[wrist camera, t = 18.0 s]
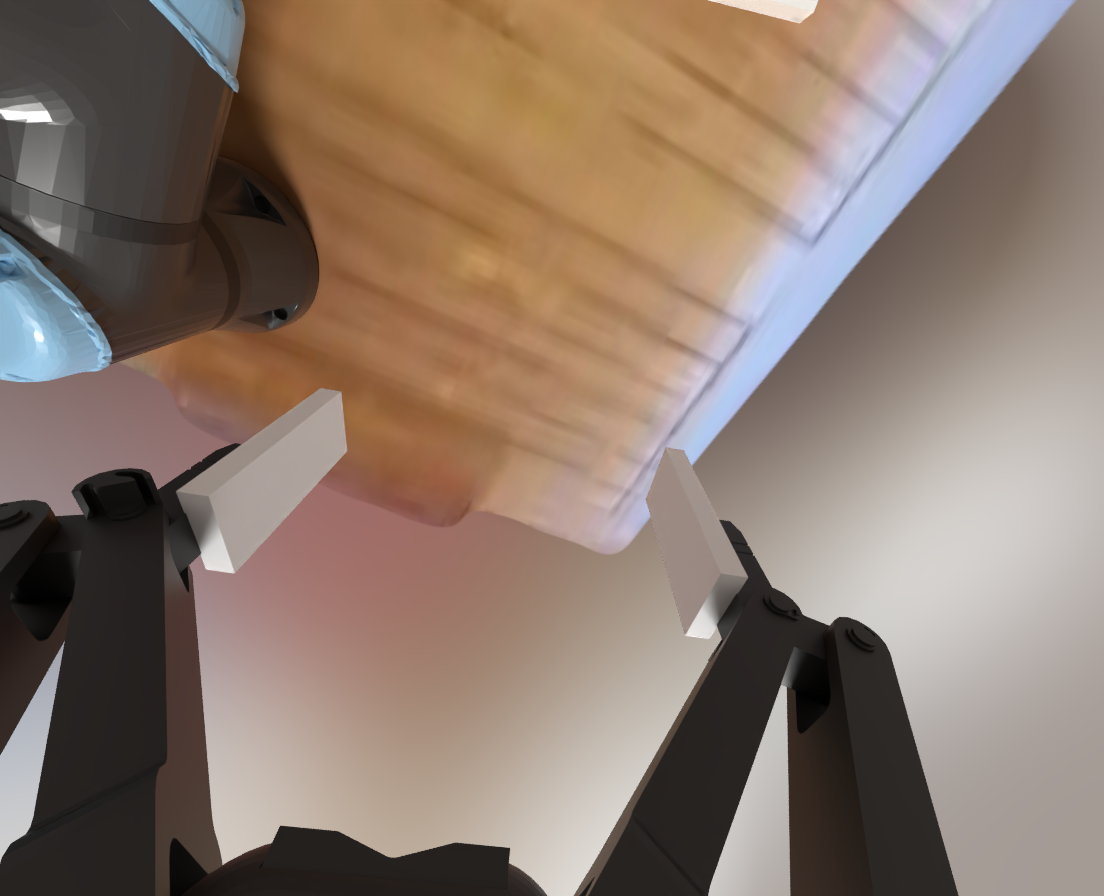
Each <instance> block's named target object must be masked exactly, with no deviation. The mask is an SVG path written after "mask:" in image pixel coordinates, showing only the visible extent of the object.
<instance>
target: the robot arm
mask: <svg viewBox="0 0 1104 896" xmlns="http://www.w3.org/2000/svg"><path fill="white" fill-rule="evenodd" d="M244 29H245V11H244V6H243V2H242V0H0V379H2V380H9V381H17V382H33V381H35V382H40V381H47V380H53V379H57V378H60V377H64V376H67V375H72V374H75V373H80V372H84V371H99V370H102V369H104V368H106V367H107V365H110V364H113V363H116V362H119V361H122V360H125V359H128V358H131V357H133V356H136V355H139V354H142V353H145V352H148V351H151V350H154V349H157V348H160V347H163V346H165V345H168V344H171V343H174V342H177V341H180V340H183V339H186V338H189V337H192V336H195V335H198V334H201V333H204V332H207V331H210V330H223V331H236V332H249V333H259V332H267V331H272V330H275V329H278V328H281V327H283V326H286V325H288V324H291V323H293V322H295V321H296V320H298V319H299V318H301V317H302V316H303V315H304V314H305V313H306V312H307V310H308V309H309V308H310V306H311V304H312V303H313V300H314V298H315V295H316V292H317V287H318V278H319V272H318V262H317V256H316V252H315V248H314V245H313V242H312V239H311V237H310V235H309V232H308V230H307V228H306V226H305V224H304V223H303V221H302V219H301V217H300V216H299V214H298V213H297V211H296V210H295V208H294V207H293V206H292V205H291V203H290V202H289V201H288V200H287V198H286V197H285V196H284V195H283V194H282V193H281V192H280V191H279V190H278V189H277V188H276V187H275V186H274V185H273V184H272V183H270V182H269V181H268V180H267V179H266V178H264V177H263V176H262V175H260V174H259V173H257V172H256V171H254V170H252V169H251V168H249V167H247V166H245V165H243V164H241V163H239V162H236V161H234V160H231V159H228V158H224V157H220V156H218V154H219V150H220V146H221V142H222V138H223V134H224V130H225V126H226V122H227V118H228V114H229V110H230V106H231V102H232V98H233V94H234V91H235V92H237V93H238V90H239V83H238V80H237V78H236V74H237V69H238V63H239V58H240V52H241V46H242V41H243V35H244ZM346 452H347V445H346V435H345V425H344V415H343V406H342V396H341V392H340V391H334V390H329V389H323V388H320V389H319V390H318V391H316V392H315V393H313V394H312V395H311V396H309V397H308V398H306V399H305V400H304V401H302V402H301V403H299V404H298V405H297V406H295V407H294V408H292V409H291V410H290V411H288V412H287V413H285V414H284V415H283V416H281V417H280V418H278V419H277V420H276V421H274V422H273V423H271V424H270V425H268V426H267V427H266V428H264V429H263V430H261V431H260V432H259V433H257V434H256V435H254V436H253V437H252V438H250V439H249V440H247V441H246V442H245V443H243V444H237V443H234V444H232V445H229V446H226V447H224V448H221V449H219V450H216V451H215V452H213V453H212V454H210V455H209V456H207V457H206V458H205V459H203V460H202V462H198V463H197V464H195V465H194V466H192V467H191V469H190V470H186V471H185V472H184V473H182V474H181V475H179V476H178V477H176V478H175V479H173V480H172V481H170V482H169V483H167V484H166V485H164V486H163V487H161V488H160V489H158V490H157V488H156V485H155V483H154V480H153V478H152V476H151V474H150V473H149V472H147V471H145V470H142V469H132V468H128V469H117V470H112V471H108V472H103V473H99V474H97V475H94V476H92V477H89V478H87V479H85V480H84V481H82V482H80V483H79V484H77V485H76V486H75V487H74V489H73V490H72V494H73V496H74V498H75V499H76V501H77V503H78V505H79V507H80V508H81V510H82V512H83V513H84V515H69V516H55V515H54V513H53V511H52V510H51V508H50V507H49V505H48V504H47V503H45V502H41V501H37V500H22V501H16V502H10V503H3V504H0V755H1V753H2V751H3V749H4V748H5V746H6V744H7V742H8V741H9V739H10V737H11V735H12V733H13V731H14V730H15V728H16V726H17V724H18V723H19V721H20V719H21V717H22V716H23V714H24V712H25V710H26V709H27V707H28V705H29V703H30V701H31V700H32V698H33V696H34V694H35V693H36V691H37V689H38V687H39V685H40V684H41V682H42V680H43V678H44V676H45V675H46V673H47V671H48V669H49V668H50V666H51V664H52V662H53V660H54V659H55V657H56V655H57V653H58V651H59V650H60V648H61V646H62V644H63V642H64V641H65V644H64V649H63V655H62V661H61V666H60V671H59V677H58V683H57V688H56V694H55V700H54V705H53V710H52V716H51V722H50V728H49V733H48V738H47V744H46V750H45V755H44V761H43V766H42V772H41V777H40V783H39V788H38V794H37V800H36V806H35V811H34V817H33V820H32V823H31V827H30V828H29V830H28V832H27V833H26V835H24V836H22V837H21V838H19V839H18V840H16V841H14V842H13V843H11V844H10V846H9V847H8V849H7V850H6V852H5V854H4V855H3V857H2V859H1V862H0V896H547V895H546V893H545V892H544V891H543V890H542V888H541V887H540V886H539V885H538V884H537V883H536V882H535V881H534V880H533V879H532V878H531V877H530V876H528V875H527V874H526V873H524V872H523V871H522V870H520V869H519V868H517V867H515V866H513V865H511V864H509V853H510V848H505V847H495V846H484V845H474V844H464V843H452V844H448V845H444V846H440V847H437V848H433V849H429V850H425V851H421V852H417V853H413V854H409V855H405V856H401V857H397V858H390V857H387V856H385V855H383V854H381V853H379V852H377V851H375V850H373V849H371V848H369V847H367V846H365V845H364V844H361V843H360V842H358V841H356V840H353V839H352V838H350V837H348V836H346V835H344V834H342V833H340V832H338V831H329V830H319V829H308V828H298V827H288V826H280V827H279V829H278V832H277V834H276V836H275V838H274V840H273V842H272V843H271V844H267V845H264V846H261V847H259V848H256V849H253V850H251V851H248V852H246V853H244V854H242V855H241V856H238V857H236V858H234V859H233V860H231V861H229V862H227V863H225V864H224V865H222V859H221V854H220V849H219V845H218V841H217V838H216V835H215V831H214V826H213V820H212V811H211V799H210V786H209V774H208V762H207V749H206V736H205V724H204V712H203V699H202V687H201V675H200V663H199V650H198V638H197V625H196V613H195V600H194V588H193V575H192V571H191V569H190V567H189V564H191V563H192V562H193V561H194V560H195V559H196V558H197V557H198V556H199V555H201V557H202V560H203V563H204V565H205V568H206V569H207V570H214V571H221V572H228V573H235V572H236V571H237V570H238V569H239V568H240V567H241V566H242V565H243V564H244V563H245V562H246V560H248V558H249V557H250V556H251V555H252V554H253V553H254V552H255V550H257V549H258V547H259V546H260V545H261V544H262V543H263V542H264V541H265V540H266V539H267V538H268V537H269V536H270V534H271V533H272V532H273V531H274V530H275V529H276V528H277V527H278V526H279V525H280V524H281V523H282V521H283V520H284V519H285V518H286V517H287V516H288V515H289V514H290V513H291V512H292V511H293V509H294V508H295V507H296V506H297V505H298V504H299V503H300V502H301V501H302V500H303V499H304V498H305V496H306V495H307V494H308V493H309V492H310V491H311V490H312V489H313V488H314V487H315V485H316V484H317V483H318V482H319V481H320V480H321V479H322V478H323V477H324V476H325V475H326V474H327V472H328V471H329V470H330V469H331V468H332V467H333V466H334V465H335V464H336V463H337V462H338V461H339V459H340V458H341V457H342V456H343V455H344V454H345V453H346ZM646 502H647V505H648V509H649V512H650V516H651V519H652V522H653V526H654V529H655V533H656V536H657V540H658V543H659V546H660V550H661V554H662V557H663V561H664V564H665V568H666V571H667V574H668V578H669V581H670V585H671V588H672V591H673V595H674V599H675V602H676V606H677V609H678V613H679V616H680V620H681V623H682V626H683V630H684V633H685V636H691V637H698V638H705V639H710V637H711V635H712V634H713V632H714V631H715V629H716V628H717V627H718V630H719V632H720V635H721V638H722V640H721V641H720V643H719V644H718V646H717V648H716V649H715V650H714V652H713V653H712V655H711V657H710V658H709V660H708V661H709V662H708V664H707V665H706V667H705V669H704V671H703V672H702V674H701V676H700V678H699V679H698V681H697V683H696V685H695V686H694V688H693V690H692V692H691V693H690V695H689V697H688V699H687V700H686V702H685V704H684V706H683V708H682V709H681V711H680V713H679V715H678V716H677V718H676V720H675V722H674V724H673V725H672V727H671V729H670V730H669V732H668V734H667V736H666V737H665V739H664V741H663V743H662V744H661V746H660V748H659V750H658V751H657V753H656V755H655V757H654V758H653V760H652V762H651V764H650V765H649V767H648V769H647V771H646V773H645V774H644V776H643V778H642V780H641V781H640V783H639V785H638V787H637V789H636V790H635V792H634V794H633V795H632V797H631V799H630V801H629V802H628V804H627V806H626V808H625V810H624V811H623V813H622V815H621V817H620V818H619V820H618V822H617V824H616V825H615V827H614V829H613V831H612V832H611V834H610V836H609V837H608V839H607V841H606V843H605V845H604V846H603V848H602V850H601V852H600V854H599V855H598V857H597V859H596V860H595V862H594V864H593V865H592V867H591V869H590V870H589V872H588V873H587V875H586V877H585V878H584V880H583V881H582V883H581V885H580V886H579V888H578V890H577V891H576V893H575V895H574V896H708V893H709V888H710V884H711V881H712V878H713V875H714V873H715V870H716V867H717V864H718V861H719V858H720V855H721V853H722V850H723V847H724V844H725V841H726V839H727V835H728V833H729V830H730V827H731V824H732V822H733V819H734V816H735V813H736V810H737V807H738V805H739V802H740V799H741V796H742V793H743V790H744V788H745V785H746V782H747V779H748V776H749V773H750V771H751V768H752V765H753V762H754V759H755V756H756V753H757V751H758V748H759V745H760V742H761V739H762V737H763V733H764V731H765V728H766V725H767V722H768V720H769V716H770V714H771V711H772V708H773V705H774V702H775V700H776V697H777V694H778V691H779V688H780V686H781V685H783V686H786V687H787V719H788V721H787V722H788V774H789V830H790V831H789V832H790V834H789V835H790V888H791V889H790V890H791V896H958V892H957V889H956V885H955V882H954V878H953V875H952V871H951V867H950V864H949V860H948V857H947V854H946V850H945V846H944V843H943V839H942V836H941V832H940V828H939V825H938V821H937V818H936V814H935V811H934V807H933V804H932V800H931V797H930V793H929V790H928V786H927V783H926V779H925V776H924V772H923V769H922V765H921V761H920V758H919V754H918V751H917V747H916V743H915V740H914V736H913V733H912V730H911V726H910V722H909V719H908V715H907V711H906V708H905V704H904V701H903V697H902V694H901V690H900V687H899V684H898V680H897V676H896V672H895V669H894V665H893V662H892V658H891V655H890V652H889V650H888V648H887V646H886V644H885V643H884V642H883V640H882V639H881V638H880V637H879V636H878V635H877V634H876V633H875V632H874V631H872V630H871V629H870V628H869V627H867V626H865V625H864V624H862V623H860V622H859V621H857V620H853V619H851V618H848V617H839V618H837V619H836V620H834V621H833V623H832V624H831V625H830V626H829V625H826V624H824V623H821V622H819V621H816V620H814V619H811V618H808V617H806V616H804V615H802V612H801V610H800V608H799V607H798V606H797V605H796V603H795V602H794V601H793V600H792V599H791V598H789V597H788V596H787V595H785V594H784V593H782V592H780V591H778V590H776V589H774V588H772V587H771V585H770V583H769V581H768V579H767V578H766V576H765V574H764V572H763V570H762V569H761V567H760V565H759V563H758V561H757V560H756V558H755V556H753V553H752V551H751V549H750V547H749V546H748V544H747V542H746V540H745V538H744V537H743V535H742V533H741V532H740V531H739V530H738V529H737V528H736V527H735V526H734V525H733V524H732V523H731V522H730V521H724V520H719V519H718V517H717V515H716V513H715V511H714V509H713V507H712V505H711V503H710V501H709V499H708V497H707V496H706V493H705V492H704V490H703V488H702V486H701V484H700V482H699V480H698V478H697V476H696V474H695V472H694V470H693V468H692V466H691V464H690V462H689V460H688V458H687V456H686V454H685V452H684V450H678V449H672V448H667V447H666V448H665V451H664V453H663V456H662V458H661V461H660V464H659V466H658V469H657V472H656V474H655V477H654V479H653V482H652V485H651V487H650V490H649V492H648V495H647V498H646Z"/></svg>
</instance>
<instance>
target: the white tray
mask: <svg viewBox="0 0 1104 896" xmlns="http://www.w3.org/2000/svg"><path fill="white" fill-rule="evenodd" d="M709 1H713V2H717V3H721V4H725V5H729V6H733V7H737V8H741V9H745V10H748V11H752V12H756V13H760V14H764V15H768V16H772V17H776V18H780V19H784V20H788V21H792V22H796V23H801V22H802V21H803V20H804V19H806V18H807V17H808V16H809V15H811V14H812V13H813V12H814V10H815V7H816V5H817V2H818V0H709Z"/></svg>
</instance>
